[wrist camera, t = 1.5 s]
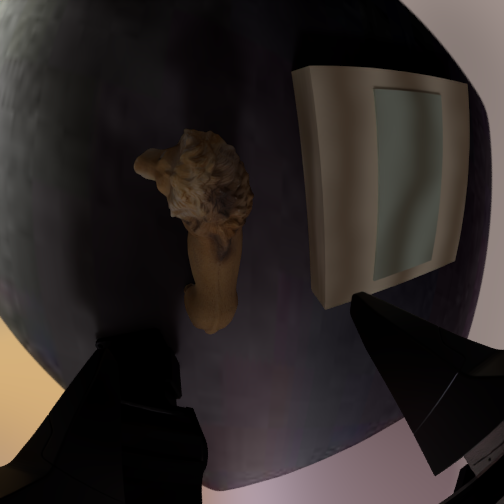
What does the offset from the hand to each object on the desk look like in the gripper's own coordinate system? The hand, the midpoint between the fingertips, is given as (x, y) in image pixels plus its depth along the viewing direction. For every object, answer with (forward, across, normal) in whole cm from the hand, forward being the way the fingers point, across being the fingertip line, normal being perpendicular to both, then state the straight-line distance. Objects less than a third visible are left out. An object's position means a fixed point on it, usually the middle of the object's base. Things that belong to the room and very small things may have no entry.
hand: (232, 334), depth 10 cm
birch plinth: (+12, -15, 0) cm, 20 cm away
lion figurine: (+12, +1, +1) cm, 12 cm away
